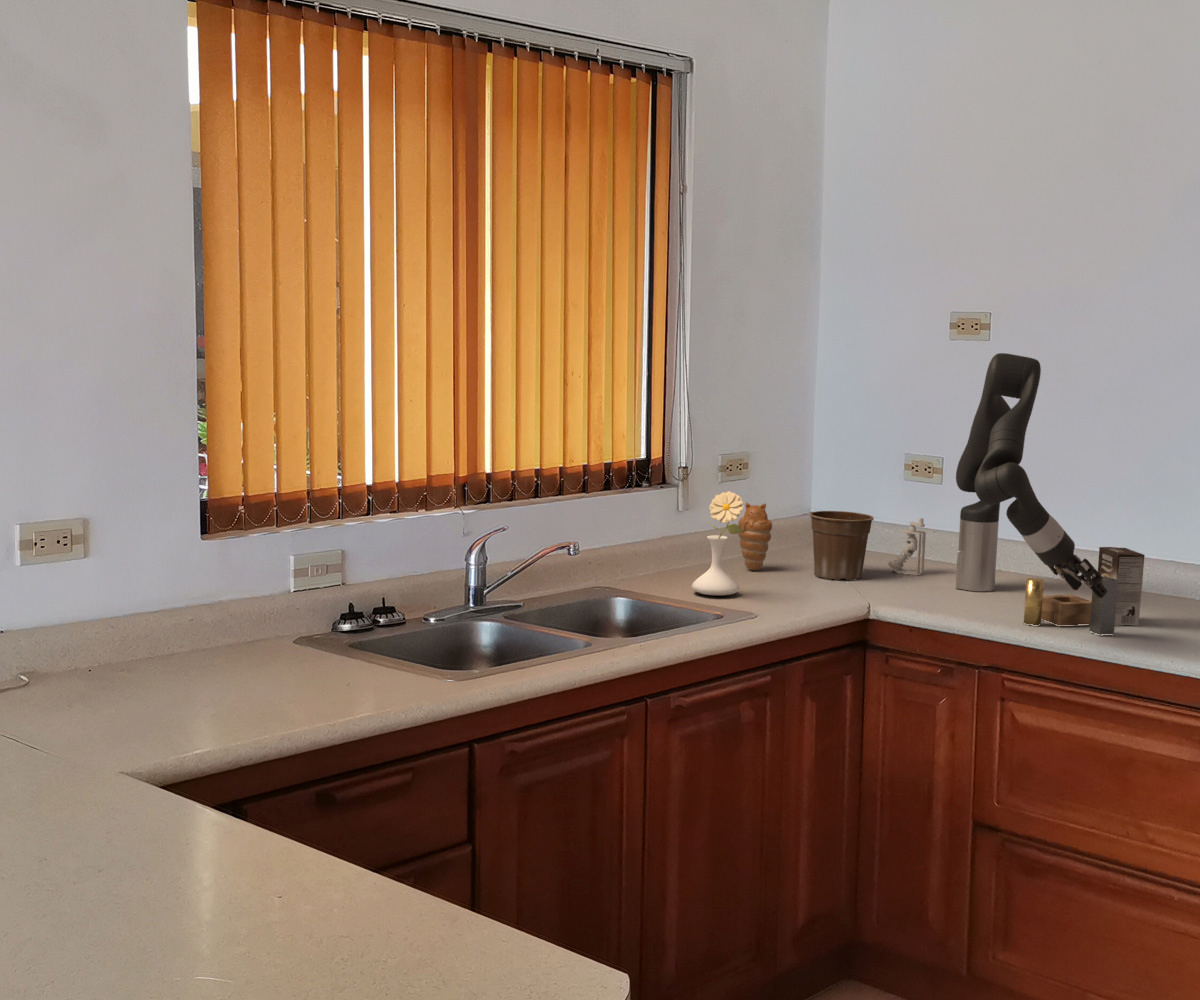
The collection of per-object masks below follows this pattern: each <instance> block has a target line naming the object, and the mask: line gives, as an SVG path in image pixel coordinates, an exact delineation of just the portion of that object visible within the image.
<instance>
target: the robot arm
mask: <svg viewBox="0 0 1200 1000" xmlns="http://www.w3.org/2000/svg"><path fill="white" fill-rule="evenodd" d="M1041 372H1042V367H1041V363H1040V361H1039V360H1038V359H1036V358H1033V357H1028V356H1023V355H1016V354H1012V353H1003V352H1002V353H995V355H993V357H992V358H991V360H990V362H989V364H988V367H987V371H986V374H985V379H984V384H983V388H982V393H981V397H980V400H979V404H978V407H977V409H976V412H975V415H974V418H973V421H972V424H971V426H970V431H969V436H968V440H967V443H966V446H965V447H964V450H963V452H962V454H961V456H960V459H959V460H958V464H957V468H956V473H955V482H956V485H957V487H958V489H959V490H960V491H962V492H964V493H975V494H976V496H977V498H978V499H979V501H977V502H975V503H971V504H969V505H965V506H963V507H961V510H960V514H959V531H958V532H959V535H958V549H957V556H956V557H957V560H956V578H955V589H957V590H958V589H959V590H965V591H970V592H991V591H995V586H996V574H997V573H996V569H997V554H998V541H999V540H998V539H999V538H998V537H999V535H998V534H999V521H1000V508H1001V503H1002V502H1005V501H1007V500H1010V499H1013V498H1015V500H1013V501H1012V502H1011V503H1010V504H1009V505H1008V507H1007V509H1006V514H1005V515H1006V518H1007V519H1008V521H1009V522H1010V523H1011V525H1013V527H1014V528H1015V529H1016V531H1018V533H1019V535H1021V537H1022V538H1023V540H1024V541H1025V543H1026V544H1027V546H1028V547H1029V548H1030V549H1031V550H1032V551H1033V553H1034V554H1035V555H1036V556H1037V558H1038V559H1039V560H1040V561H1041V562H1042V563H1043V564H1044V565H1045V566H1047V567H1048V568H1049V570H1050V571H1052V573H1053V575H1055V576H1058V575H1059V578H1060V579H1062V580H1063V579H1064V581H1065V582H1066V583H1067V584H1068V585H1069V586H1070V587H1071V589H1072V590H1074V591H1078V590H1079V588H1080V587H1081V586H1083V583H1084V584H1085V585H1087V587H1088V588H1090V589H1091V591H1093V592H1094V593H1095V594H1096V596H1097V597H1099V598H1102V597H1103V596H1104V595H1105V594H1106V593H1107V590H1106V589H1105V587H1104V586H1103V585H1102V584H1101V583H1100V581H1101V580H1102V579H1103V577H1102V576H1101V575H1100V574H1099V573H1098V569H1096V568H1095V566H1093V564H1092V563H1091V561H1089V560H1088V559H1087V558H1083V560H1082V559H1081V557H1079V556H1078V555H1076V554H1074V552H1075V547H1076V544H1075V541H1074V540H1073V539H1072V538H1071V536H1070V535H1069V534H1068V533H1067V532H1066V530H1065V529H1064V528H1063V527H1062V525H1060V523H1059V522H1058V521H1057V520H1056V519H1055V518H1054V517H1053V516H1052V515H1051V514H1050V513H1049V512H1048V511H1047V509H1046V508H1045V507H1044V506H1043V505H1042V503H1041V502H1040V501H1039V499H1038V498H1037V496H1036V493H1035V491H1034V490H1033V486H1032V485H1031V481H1030V479H1029V476H1028V475H1027V472H1026V470H1025V469H1024V467H1022V466H1021V465H1020V464H1021V462H1022V460H1023V456H1024V448H1025V441H1026V434H1027V433H1026V432H1027V428H1028V424H1029V422H1030V419H1031V416H1032V412H1033V409H1034V405H1035V401H1036V397H1037V394H1038V389H1039V386H1040V381H1041ZM1004 397H1006V398H1011V399H1012V398H1013V399H1018V401H1017V403H1016V404H1015V405H1014V406H1013V407H1010V405H1009V404H1008V402H1007V401H1006V400H1005V398H1004ZM1079 574H1081V575H1079ZM1082 582H1083V583H1082Z"/></svg>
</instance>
